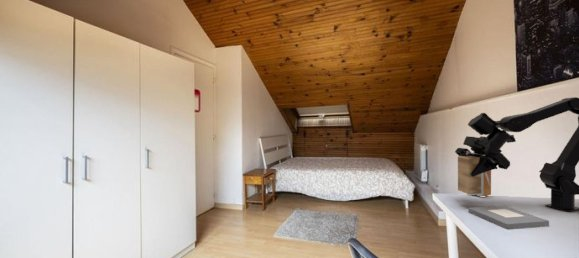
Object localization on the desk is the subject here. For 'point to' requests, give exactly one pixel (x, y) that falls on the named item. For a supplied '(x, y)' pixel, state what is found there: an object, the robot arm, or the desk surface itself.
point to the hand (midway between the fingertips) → (465, 174)
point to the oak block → (468, 175)
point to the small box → (485, 184)
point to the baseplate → (508, 217)
